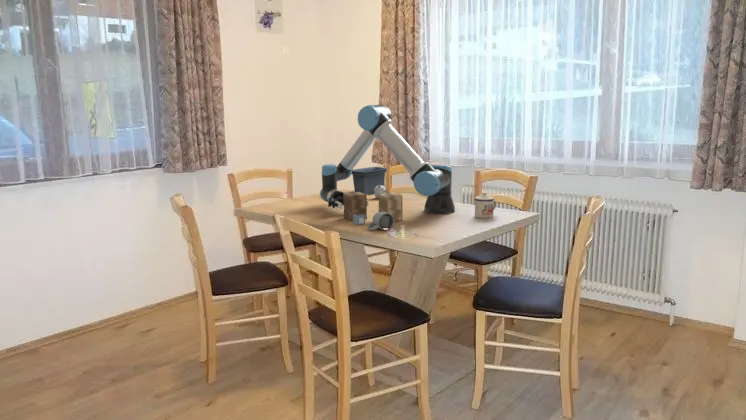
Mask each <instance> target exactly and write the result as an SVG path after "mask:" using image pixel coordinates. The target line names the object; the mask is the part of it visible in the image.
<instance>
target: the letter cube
mask: <svg viewBox="0 0 746 420" xmlns="http://www.w3.org/2000/svg"><path fill="white" fill-rule="evenodd" d="M360 224H363V225H366V220H365V216H364V215H362V214H359V215H354V221H353V225H356V226H361V225H360Z"/></svg>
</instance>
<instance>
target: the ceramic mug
mask: <svg viewBox="0 0 746 420" xmlns="http://www.w3.org/2000/svg"><path fill="white" fill-rule="evenodd" d="M394 224H395V222H394V218H393V216H392V215H391V214H389V213H385V212H379V211H378V212H376V213H375V214H374V215H373V217H372V222H371V223H370V224H368V225H367V229H368V230H369V231H370V230H371V231H375V230H377V229H379V230H381V231H384V229H383V228H388V229H390V230H391V229H392V228H393V226H394Z"/></svg>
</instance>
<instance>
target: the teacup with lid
mask: <svg viewBox="0 0 746 420" xmlns="http://www.w3.org/2000/svg"><path fill="white" fill-rule="evenodd" d="M496 208H497V201H496V200H495V198H494V197H493V196H491V195H489V194H487V191H483V192H482V193H481V194H480V195H478V196H475V197H474V217H476V218H477V219H491V218H493V217H494V211H495V209H496Z"/></svg>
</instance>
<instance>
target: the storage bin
mask: <svg viewBox="0 0 746 420" xmlns="http://www.w3.org/2000/svg"><path fill="white" fill-rule="evenodd" d="M387 172H388V168H387V167H383V166H369V167H362V168H355V169H354V168H353V169H352V172H351V175H352V179H353V180H352V182H353V189H354V192H361V193H364V194H366V196H368V195H372V194H373V195H375V194H374V193H373V192H374V189H375V187H376V185H386V184H385V181H386V179H385V178H386V173H387ZM372 190H373V191H372ZM370 193H371V194H370ZM367 194H368V195H367Z"/></svg>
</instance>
